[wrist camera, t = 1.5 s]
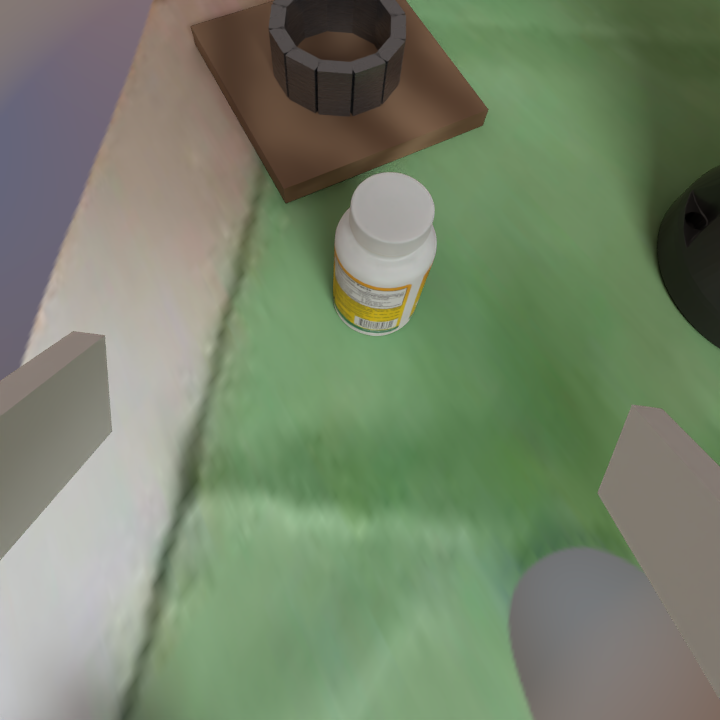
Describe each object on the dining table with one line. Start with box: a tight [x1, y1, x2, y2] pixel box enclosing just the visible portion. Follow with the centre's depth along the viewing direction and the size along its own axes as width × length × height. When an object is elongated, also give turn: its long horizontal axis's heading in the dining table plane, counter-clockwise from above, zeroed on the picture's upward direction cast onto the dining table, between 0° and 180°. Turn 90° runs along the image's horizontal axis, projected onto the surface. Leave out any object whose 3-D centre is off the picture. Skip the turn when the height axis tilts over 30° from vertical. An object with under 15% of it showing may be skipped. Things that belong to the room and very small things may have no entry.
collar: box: [269, 0, 406, 117], centre depth 37 cm, size 9×9×4 cm
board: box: [191, 0, 488, 203], centre depth 39 cm, size 16×16×2 cm
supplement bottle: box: [333, 172, 437, 336], centre depth 29 cm, size 5×5×10 cm
